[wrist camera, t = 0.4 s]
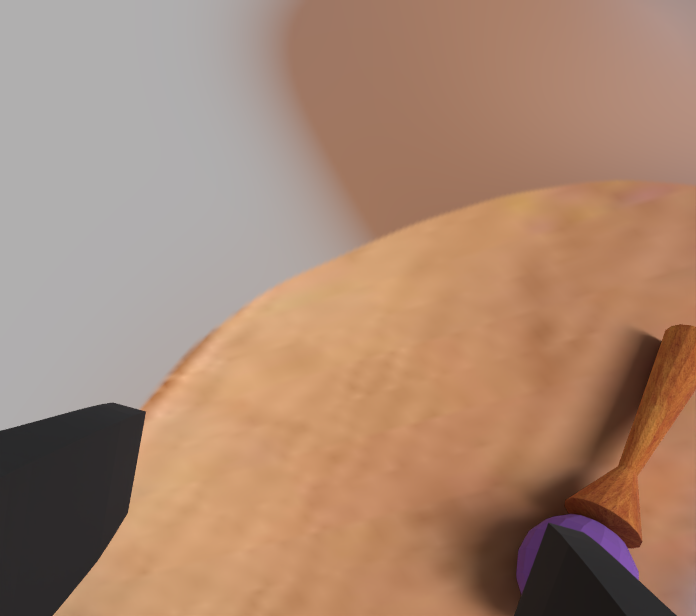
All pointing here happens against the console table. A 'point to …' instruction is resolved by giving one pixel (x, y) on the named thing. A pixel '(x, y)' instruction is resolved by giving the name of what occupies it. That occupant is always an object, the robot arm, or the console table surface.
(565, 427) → the console table surface
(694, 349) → the purple maraca
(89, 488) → the robot arm
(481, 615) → the console table surface
